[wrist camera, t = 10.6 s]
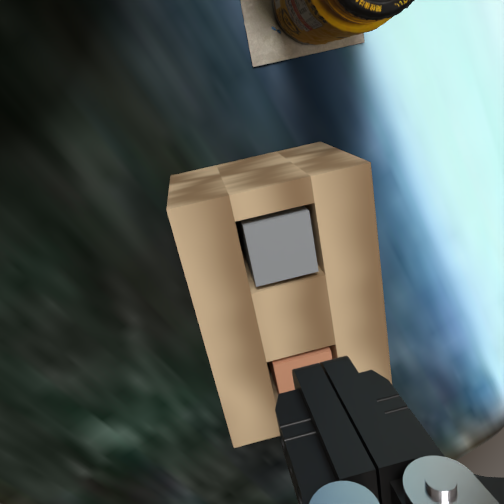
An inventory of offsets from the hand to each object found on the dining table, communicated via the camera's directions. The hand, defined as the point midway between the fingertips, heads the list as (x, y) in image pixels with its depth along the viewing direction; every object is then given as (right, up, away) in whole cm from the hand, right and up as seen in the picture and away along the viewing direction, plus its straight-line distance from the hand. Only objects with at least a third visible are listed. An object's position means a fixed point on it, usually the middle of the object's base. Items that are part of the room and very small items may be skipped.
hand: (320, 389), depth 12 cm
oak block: (-1, +3, +26) cm, 26 cm away
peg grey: (-1, +7, +22) cm, 23 cm away
